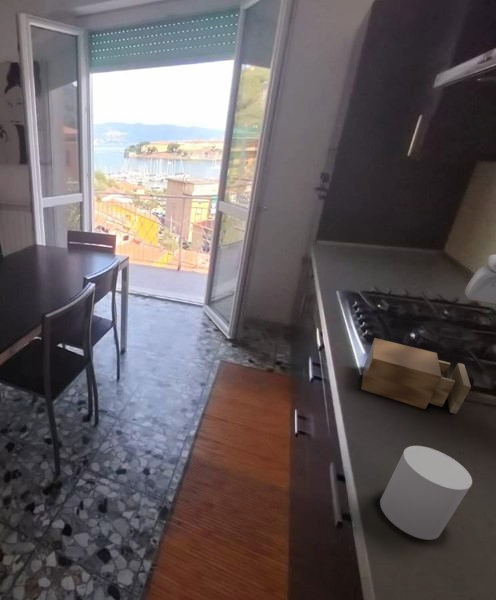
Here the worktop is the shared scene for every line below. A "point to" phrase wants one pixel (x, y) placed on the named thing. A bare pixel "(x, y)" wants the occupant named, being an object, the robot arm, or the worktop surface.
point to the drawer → (451, 387)
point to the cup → (424, 492)
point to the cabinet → (401, 373)
